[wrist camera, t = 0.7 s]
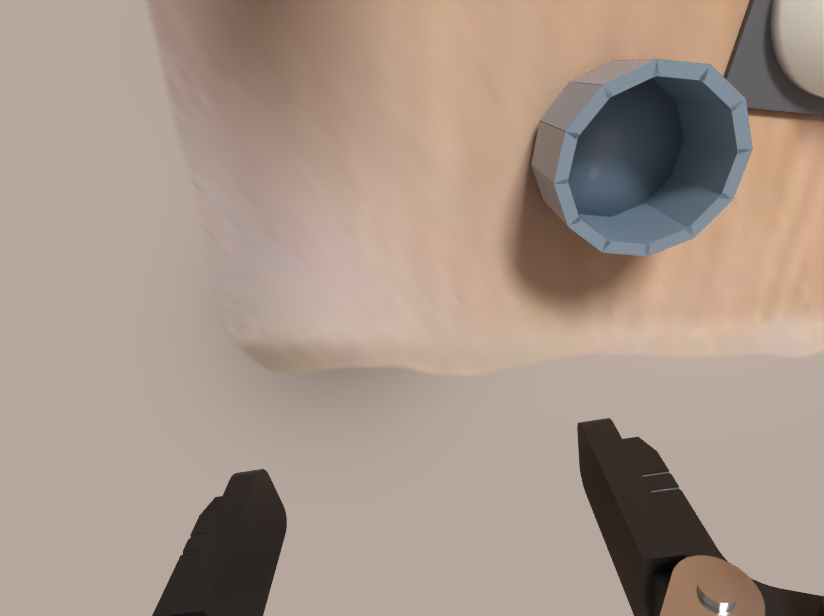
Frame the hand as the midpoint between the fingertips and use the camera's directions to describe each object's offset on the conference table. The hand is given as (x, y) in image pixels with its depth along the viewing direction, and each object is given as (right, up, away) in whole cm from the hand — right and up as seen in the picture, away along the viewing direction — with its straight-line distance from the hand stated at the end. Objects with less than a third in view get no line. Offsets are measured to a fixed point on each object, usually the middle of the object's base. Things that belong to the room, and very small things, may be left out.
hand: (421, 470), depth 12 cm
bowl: (+14, +16, +22) cm, 30 cm away
